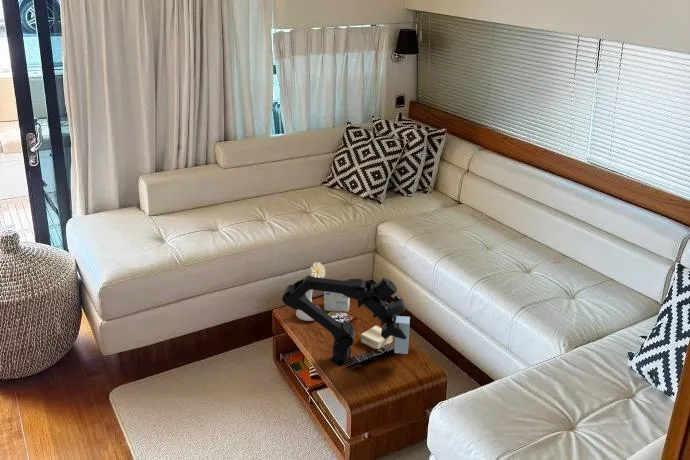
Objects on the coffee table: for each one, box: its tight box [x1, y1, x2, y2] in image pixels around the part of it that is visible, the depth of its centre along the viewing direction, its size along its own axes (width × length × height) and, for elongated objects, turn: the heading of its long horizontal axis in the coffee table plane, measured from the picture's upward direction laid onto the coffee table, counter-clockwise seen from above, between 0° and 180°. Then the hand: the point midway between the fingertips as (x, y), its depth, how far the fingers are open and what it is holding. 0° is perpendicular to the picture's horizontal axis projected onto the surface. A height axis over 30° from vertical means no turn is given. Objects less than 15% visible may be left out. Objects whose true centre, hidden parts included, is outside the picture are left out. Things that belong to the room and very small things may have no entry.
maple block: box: [360, 325, 394, 350], centre depth 271 cm, size 9×9×4 cm
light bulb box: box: [323, 291, 351, 313], centre depth 294 cm, size 11×7×11 cm, turn 84°
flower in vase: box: [295, 262, 326, 322], centre depth 285 cm, size 13×11×25 cm
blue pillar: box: [393, 315, 411, 355], centre depth 252 cm, size 5×5×13 cm
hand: (405, 334), depth 252 cm, fingers closed on blue pillar, 5 cm apart
